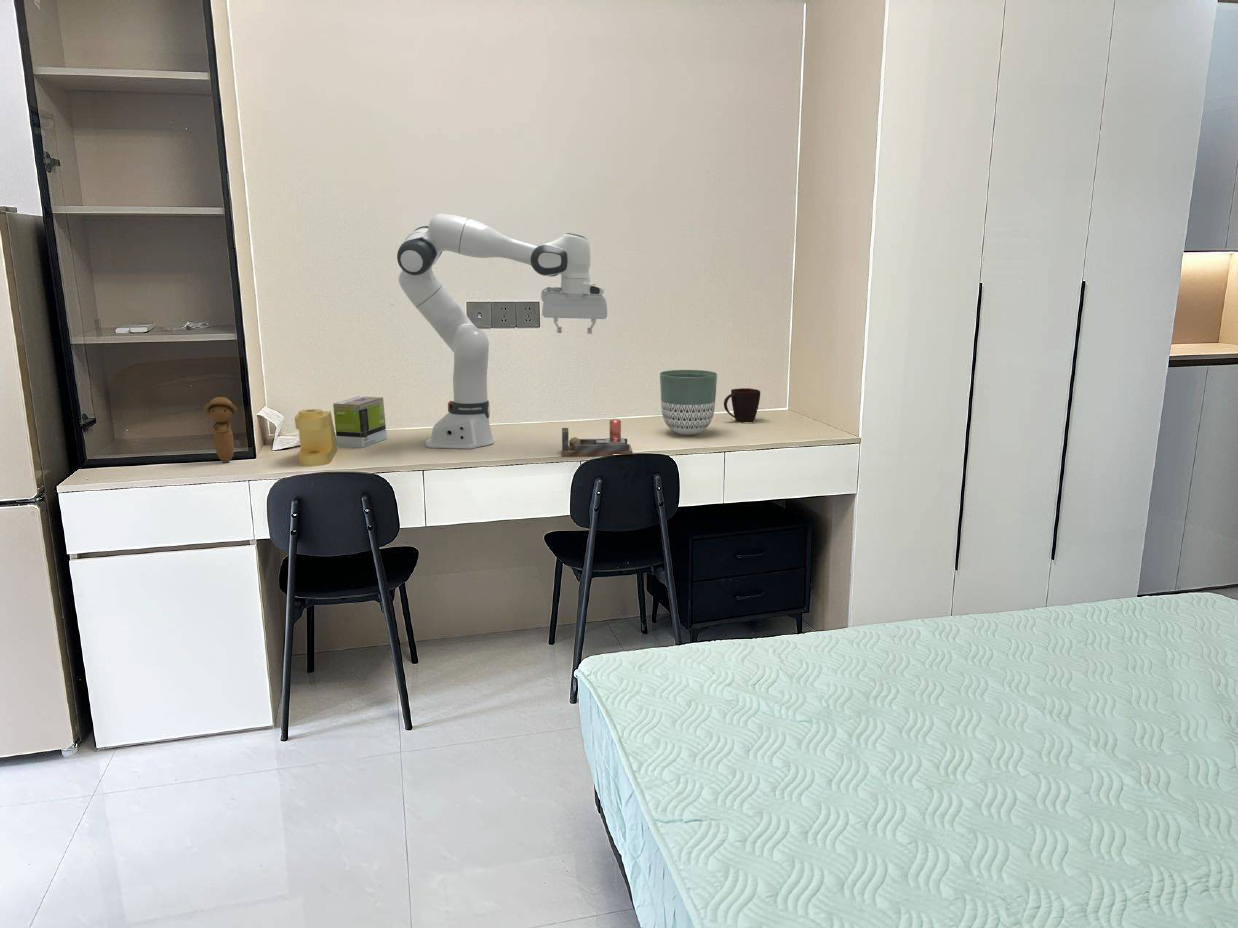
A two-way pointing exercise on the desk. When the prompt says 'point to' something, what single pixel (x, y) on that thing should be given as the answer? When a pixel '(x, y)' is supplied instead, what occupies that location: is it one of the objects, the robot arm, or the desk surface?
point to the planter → (688, 400)
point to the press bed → (592, 447)
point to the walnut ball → (574, 441)
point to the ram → (613, 434)
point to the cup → (743, 404)
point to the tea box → (359, 421)
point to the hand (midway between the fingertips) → (574, 333)
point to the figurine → (222, 426)
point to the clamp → (315, 437)
